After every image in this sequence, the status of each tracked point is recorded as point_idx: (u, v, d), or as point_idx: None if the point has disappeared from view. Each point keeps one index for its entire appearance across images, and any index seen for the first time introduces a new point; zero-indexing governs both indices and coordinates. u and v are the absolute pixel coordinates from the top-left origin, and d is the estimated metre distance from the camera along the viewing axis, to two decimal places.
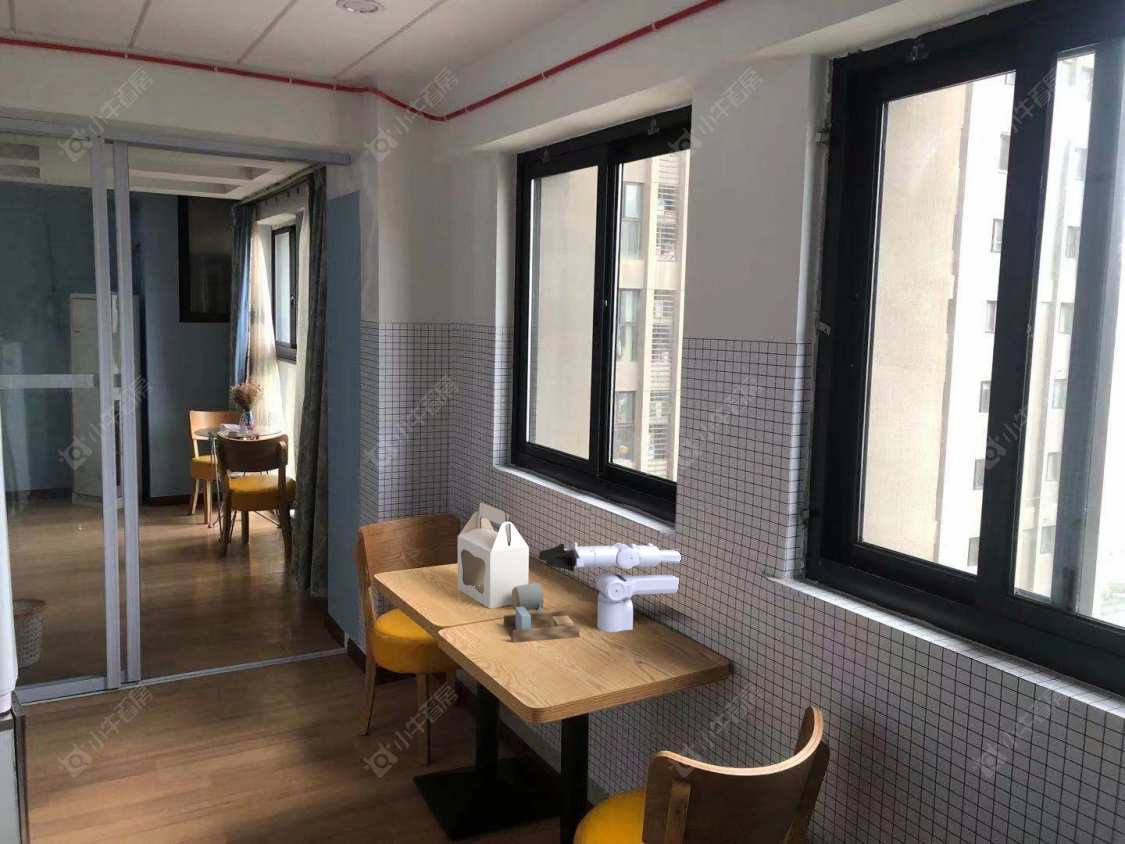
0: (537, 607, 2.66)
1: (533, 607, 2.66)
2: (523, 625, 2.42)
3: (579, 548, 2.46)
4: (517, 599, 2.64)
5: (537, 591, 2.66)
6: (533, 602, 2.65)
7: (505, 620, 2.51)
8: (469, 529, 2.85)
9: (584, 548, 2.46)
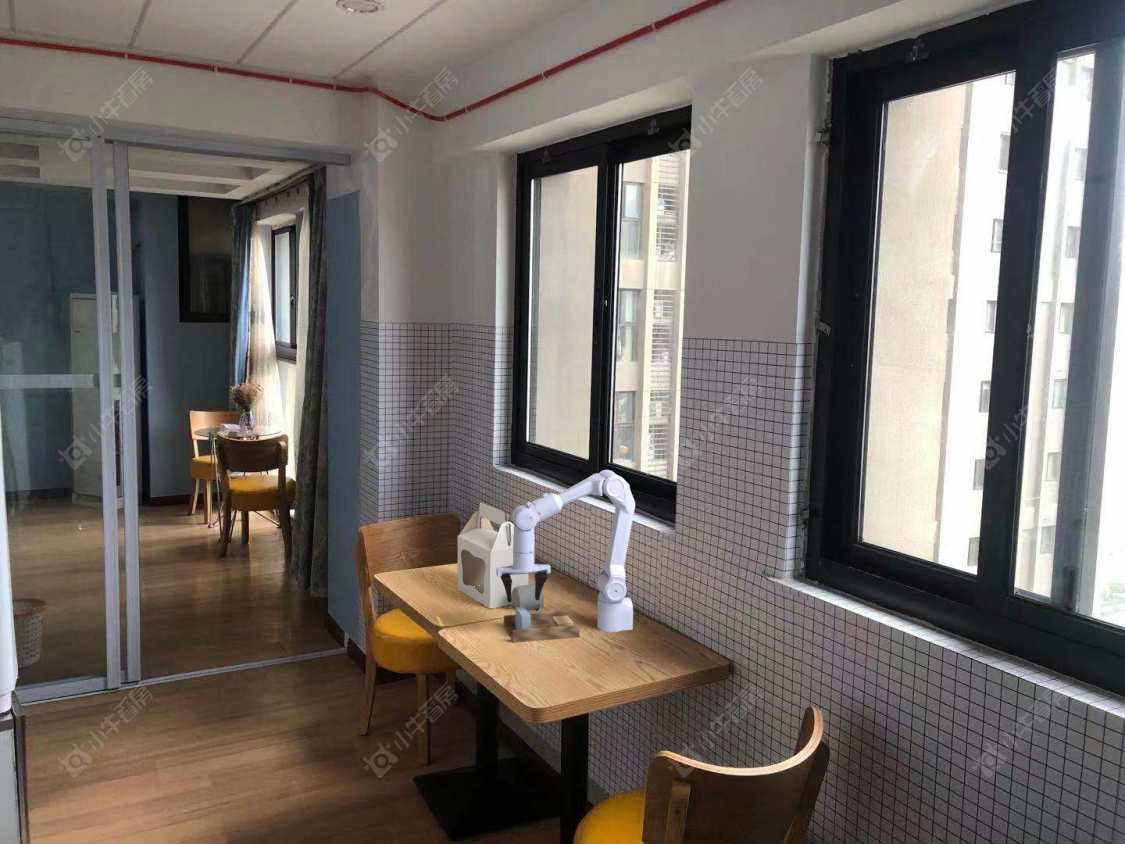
0: (537, 607, 2.66)
1: (533, 607, 2.65)
2: (523, 625, 2.42)
3: None
4: (517, 599, 2.64)
5: None
6: (533, 602, 2.65)
7: (505, 620, 2.51)
8: (469, 529, 2.85)
9: None
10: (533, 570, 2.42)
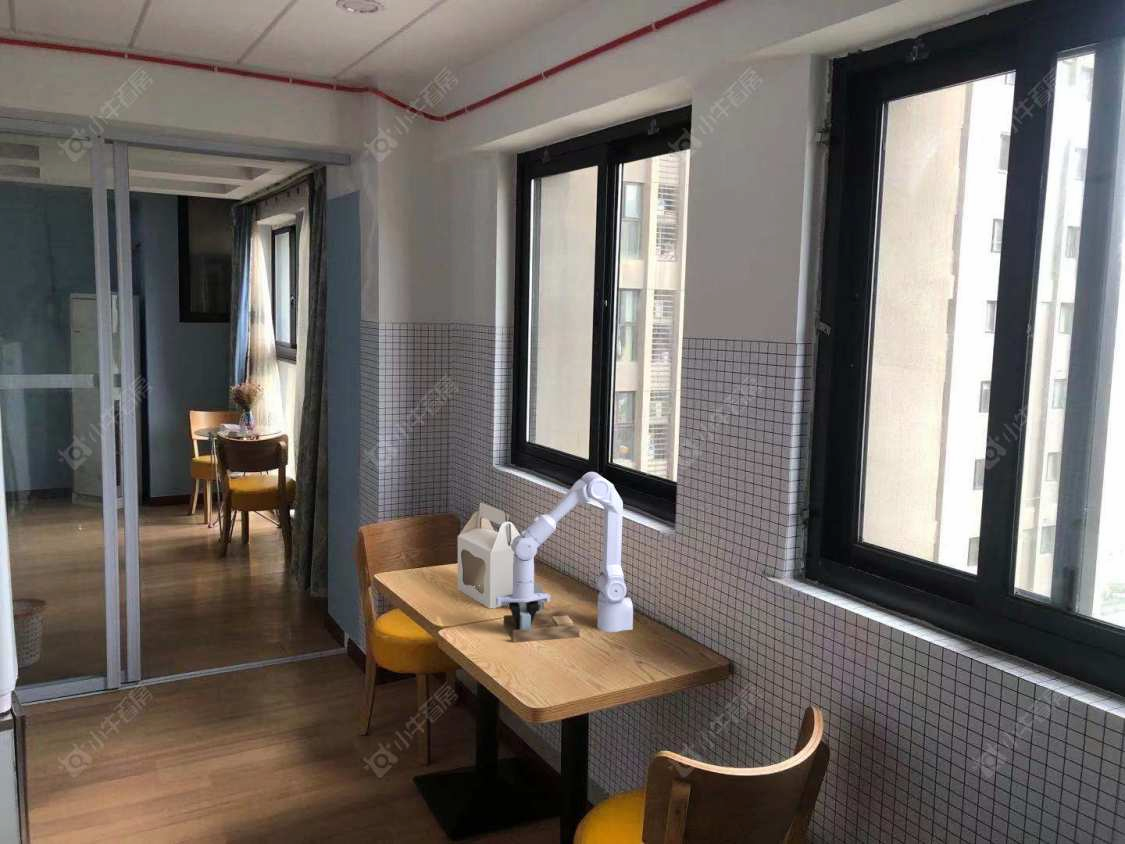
0: (538, 608, 2.65)
1: None
2: (523, 625, 2.42)
3: None
4: None
5: (538, 592, 2.65)
6: None
7: (505, 620, 2.51)
8: (469, 529, 2.85)
9: None
10: (533, 599, 2.43)
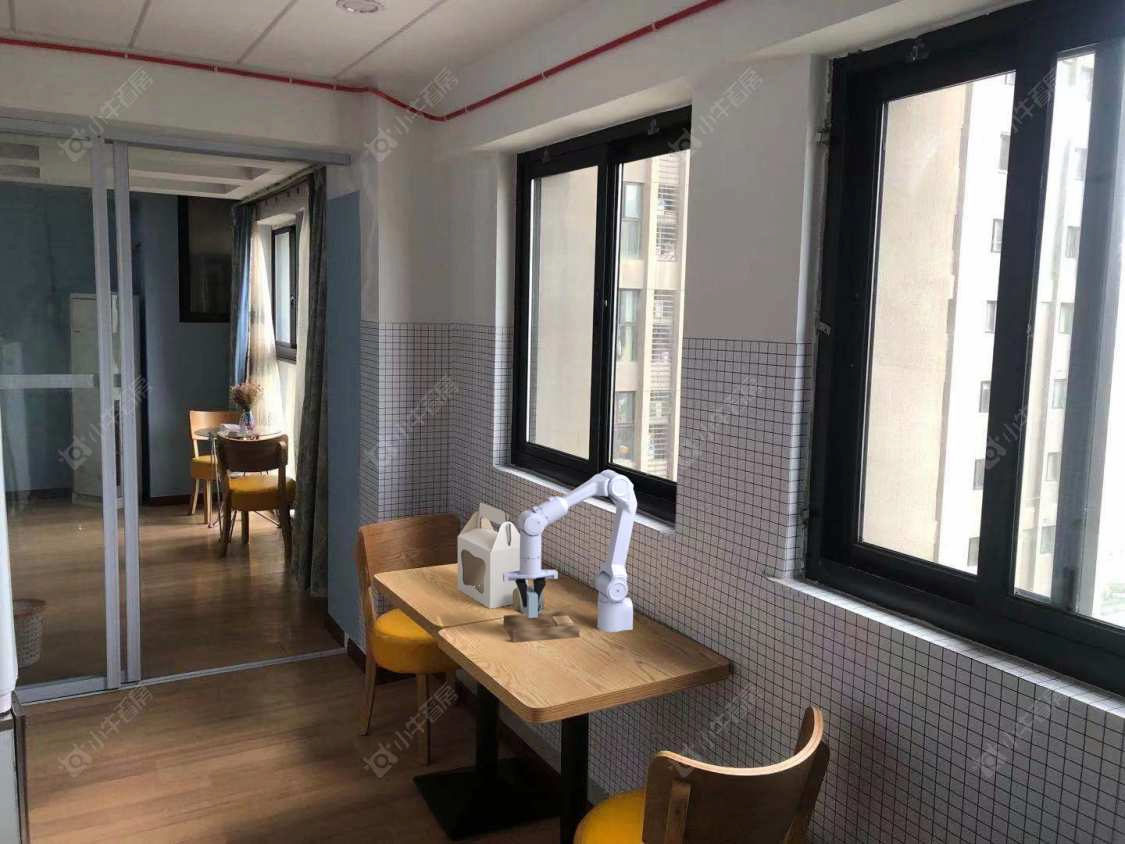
0: (538, 608, 2.65)
1: None
2: (530, 604, 2.39)
3: None
4: (518, 600, 2.63)
5: None
6: None
7: (505, 620, 2.51)
8: (469, 529, 2.85)
9: None
10: (540, 575, 2.40)
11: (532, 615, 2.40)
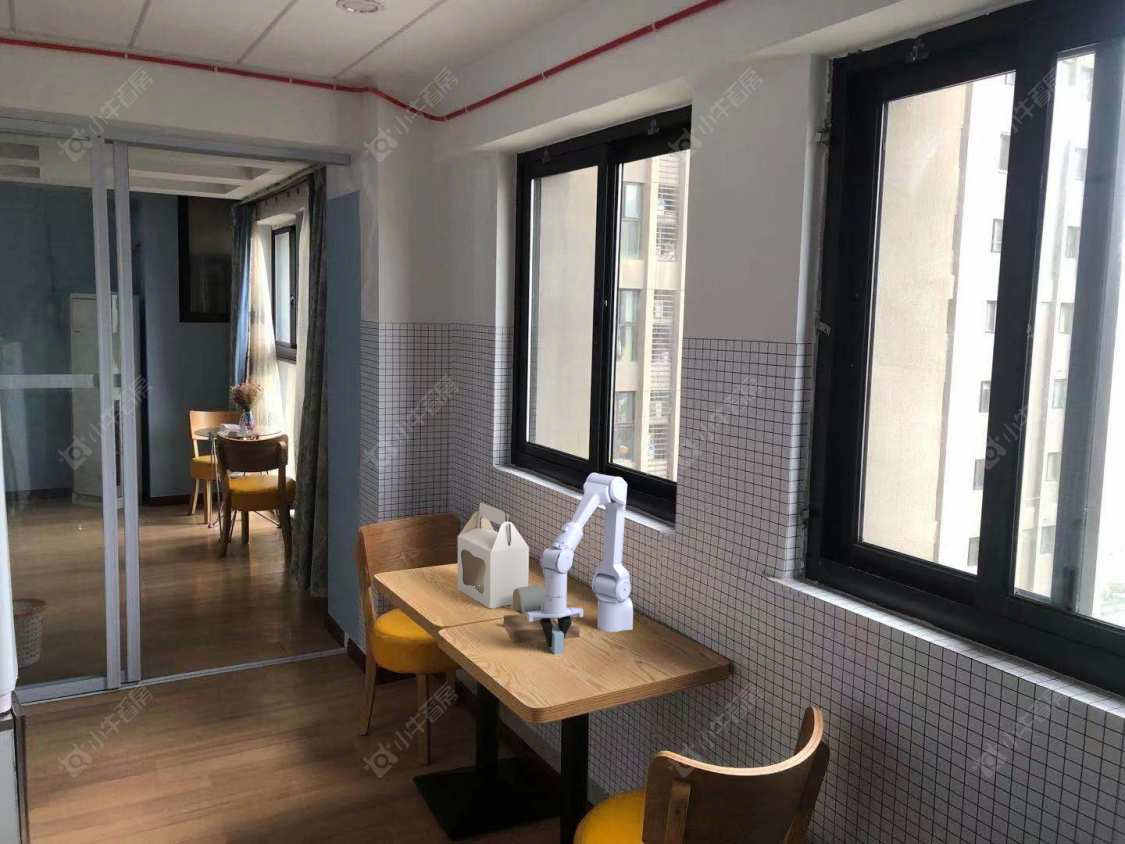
0: (538, 609, 2.65)
1: (534, 609, 2.64)
2: (556, 644, 2.31)
3: None
4: (518, 601, 2.62)
5: (538, 593, 2.64)
6: (534, 604, 2.63)
7: (505, 620, 2.51)
8: (469, 529, 2.85)
9: None
10: (566, 614, 2.33)
11: None
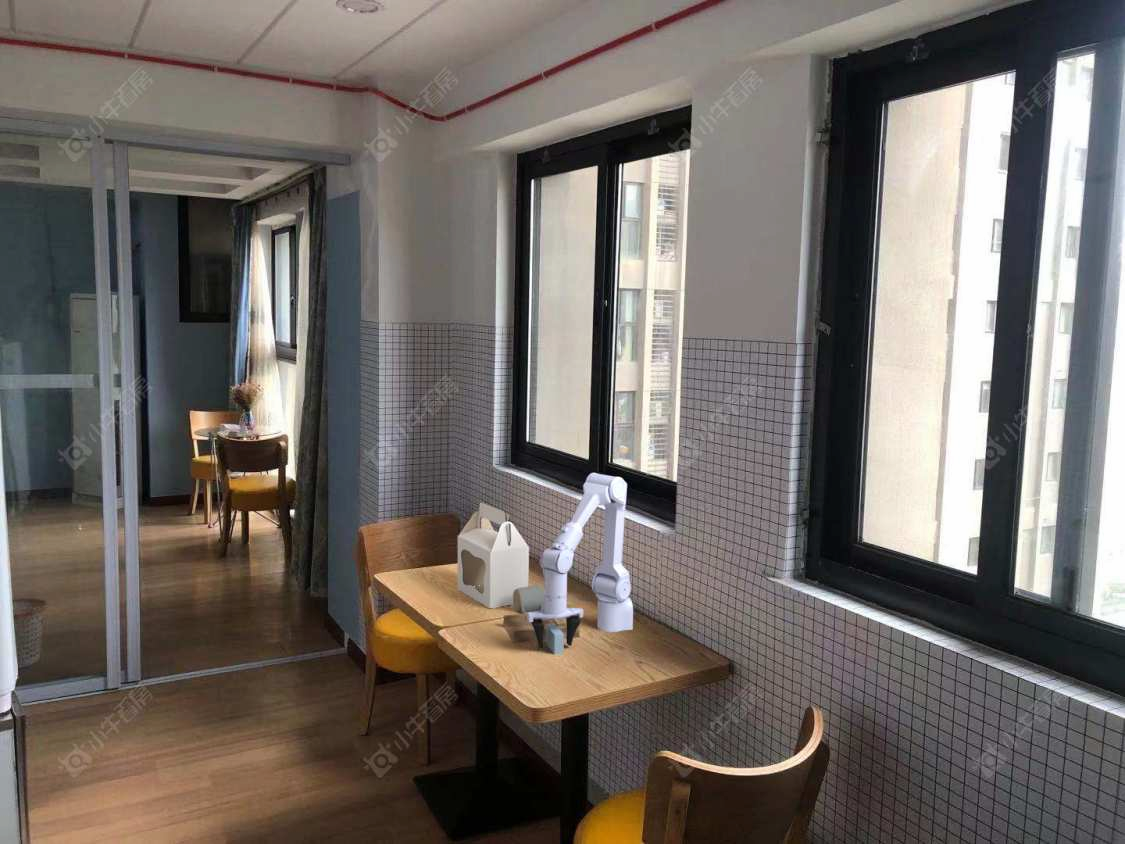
0: (539, 609, 2.64)
1: (535, 609, 2.64)
2: (556, 644, 2.31)
3: None
4: (518, 601, 2.62)
5: (539, 593, 2.64)
6: (535, 604, 2.63)
7: (505, 620, 2.51)
8: (469, 529, 2.85)
9: None
10: (566, 615, 2.33)
11: None
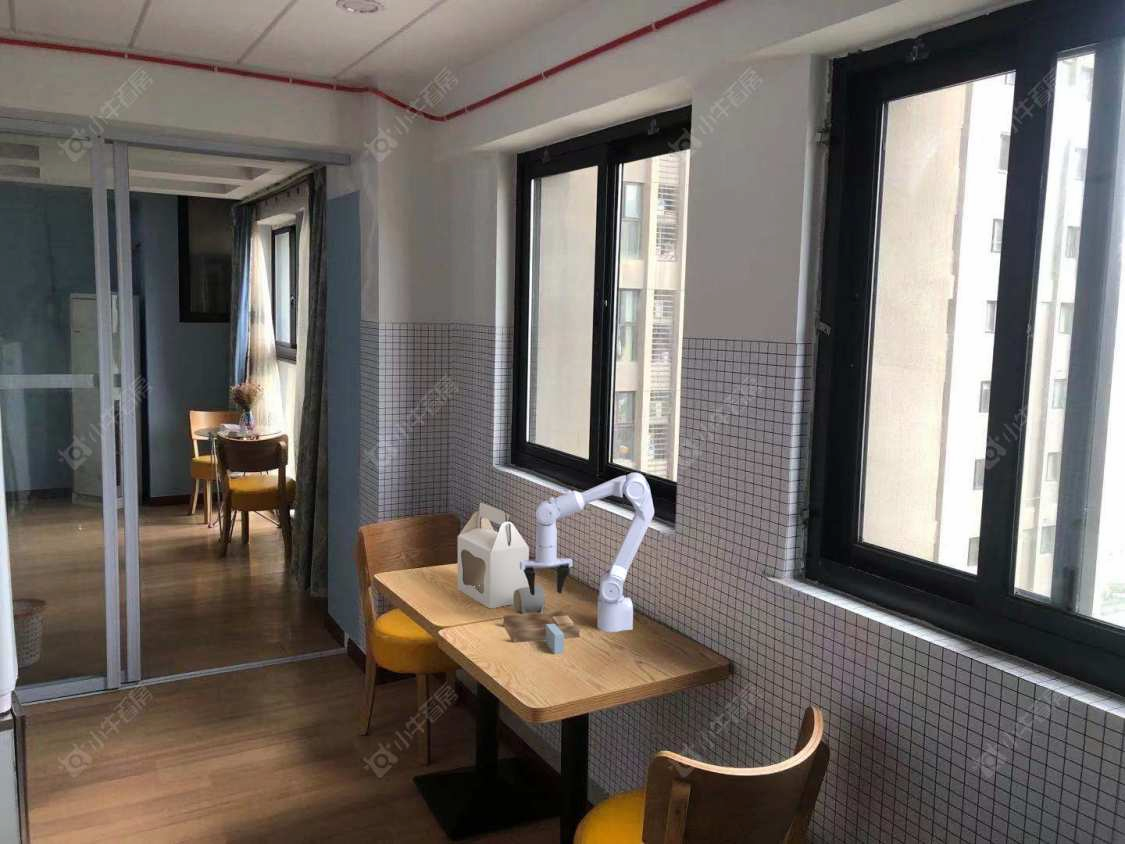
0: (539, 610, 2.64)
1: (535, 610, 2.63)
2: (556, 644, 2.31)
3: None
4: (519, 602, 2.62)
5: (539, 594, 2.63)
6: (535, 605, 2.63)
7: (505, 620, 2.51)
8: (469, 529, 2.85)
9: None
10: (556, 564, 2.49)
11: None
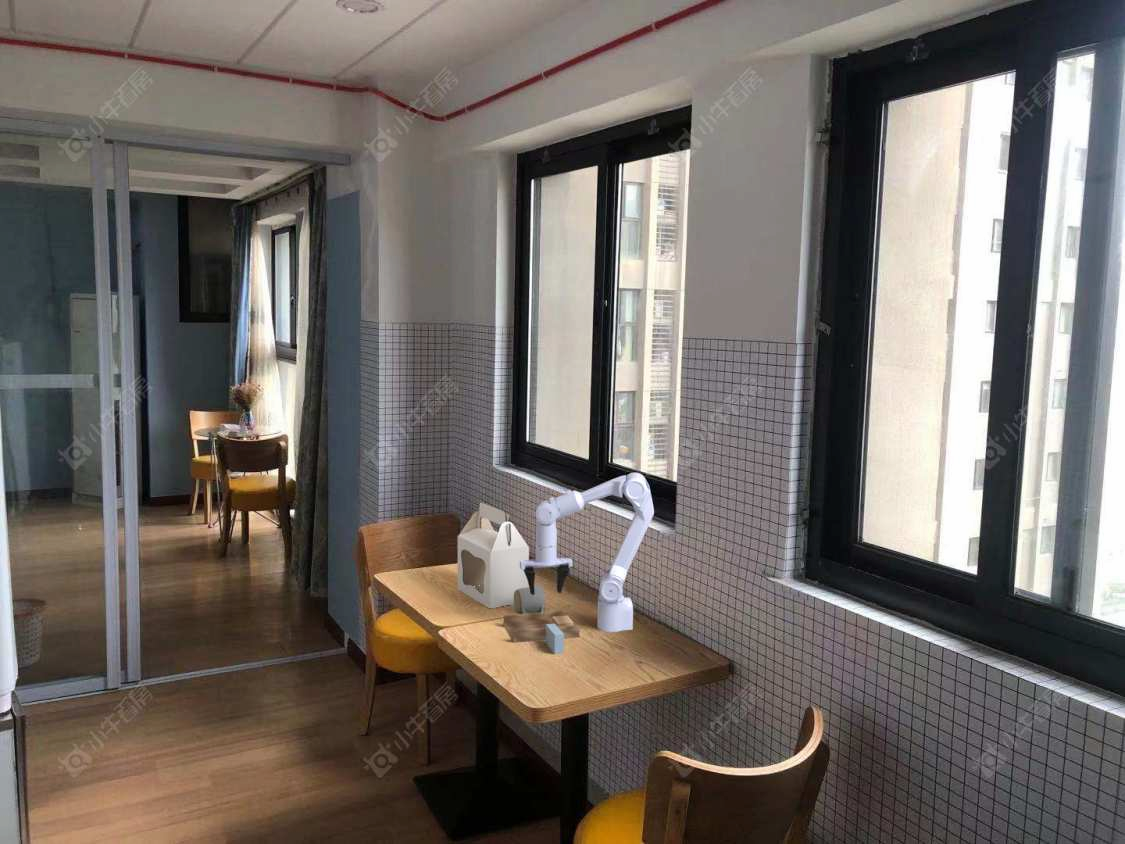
0: (539, 610, 2.64)
1: (535, 610, 2.63)
2: (556, 644, 2.31)
3: None
4: (519, 602, 2.61)
5: (539, 594, 2.63)
6: (535, 605, 2.62)
7: (505, 620, 2.51)
8: (469, 529, 2.85)
9: None
10: (555, 563, 2.49)
11: None
